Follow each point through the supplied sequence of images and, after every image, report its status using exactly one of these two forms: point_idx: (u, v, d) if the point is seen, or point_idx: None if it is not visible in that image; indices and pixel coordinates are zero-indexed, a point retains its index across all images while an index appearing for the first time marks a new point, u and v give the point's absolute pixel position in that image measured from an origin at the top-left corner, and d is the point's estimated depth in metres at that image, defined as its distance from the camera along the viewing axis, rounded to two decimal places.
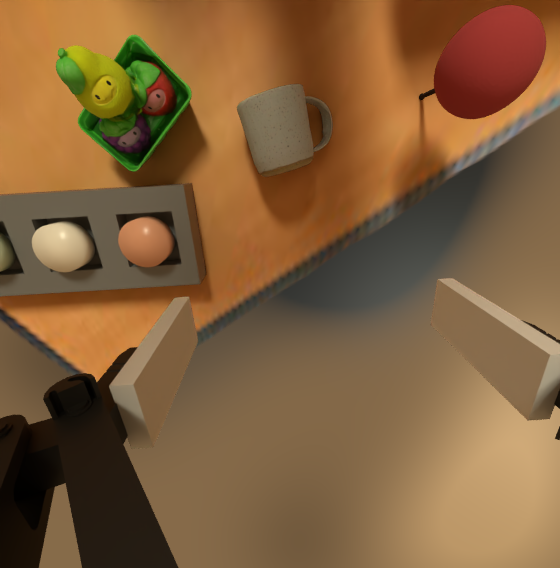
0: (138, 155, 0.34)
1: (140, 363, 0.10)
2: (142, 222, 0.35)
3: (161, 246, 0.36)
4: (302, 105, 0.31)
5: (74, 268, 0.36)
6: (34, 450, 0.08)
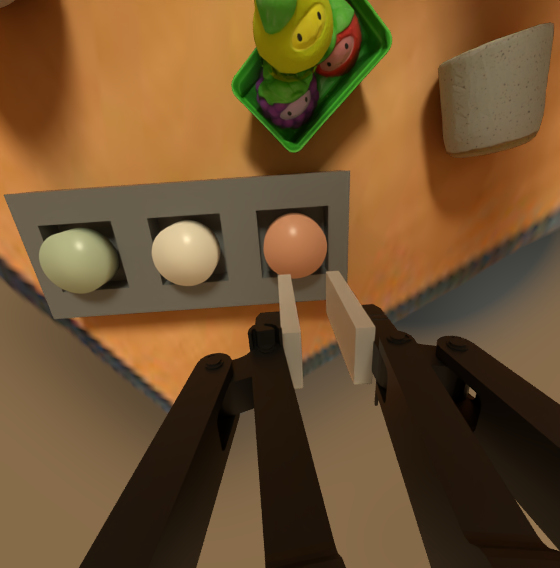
0: (295, 132, 0.26)
1: (292, 319, 0.12)
2: (300, 220, 0.26)
3: (317, 251, 0.27)
4: (550, 55, 0.22)
5: (201, 281, 0.28)
6: (242, 378, 0.10)
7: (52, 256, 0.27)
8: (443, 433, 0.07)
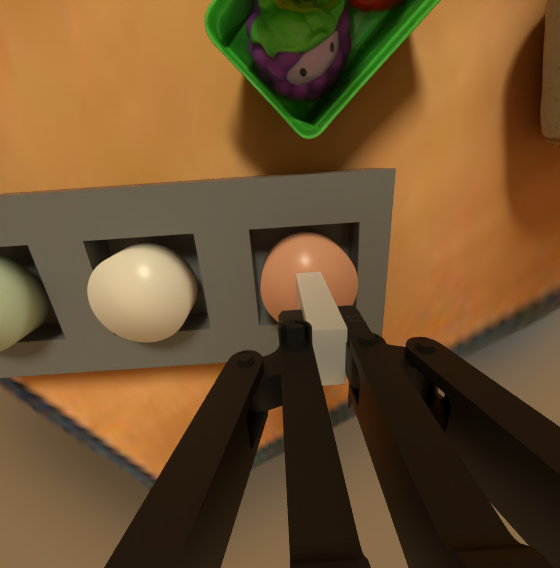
0: (311, 107, 0.16)
1: (318, 316, 0.12)
2: (317, 246, 0.17)
3: (343, 292, 0.18)
4: None
5: (166, 335, 0.19)
6: (273, 374, 0.10)
7: None
8: (416, 434, 0.07)
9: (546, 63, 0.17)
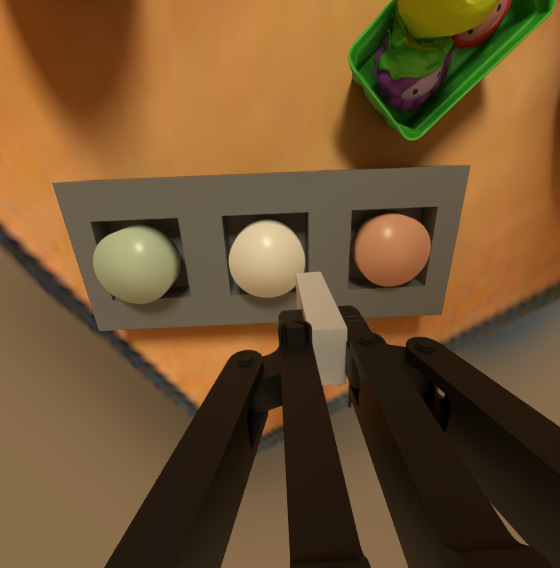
0: (410, 116, 0.21)
1: (318, 316, 0.12)
2: (404, 220, 0.23)
3: (418, 256, 0.24)
4: None
5: (283, 292, 0.24)
6: (273, 374, 0.10)
7: (108, 259, 0.22)
8: (415, 434, 0.07)
9: None
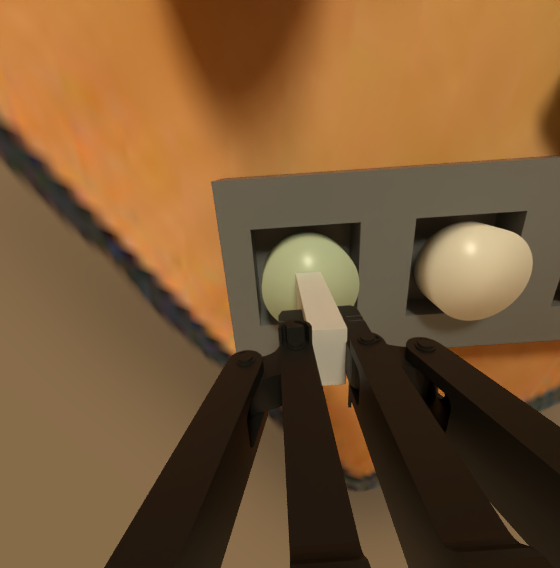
0: None
1: (318, 317, 0.12)
2: None
3: None
4: None
5: (492, 313, 0.19)
6: (273, 374, 0.10)
7: (282, 277, 0.17)
8: (416, 434, 0.07)
9: None
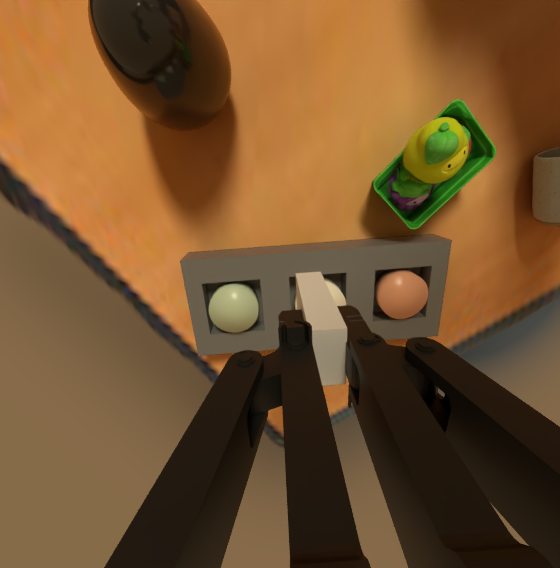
0: (411, 212, 0.33)
1: (318, 316, 0.12)
2: (410, 276, 0.35)
3: (420, 298, 0.36)
4: None
5: None
6: (273, 374, 0.10)
7: (218, 305, 0.35)
8: (416, 434, 0.07)
9: (534, 185, 0.34)
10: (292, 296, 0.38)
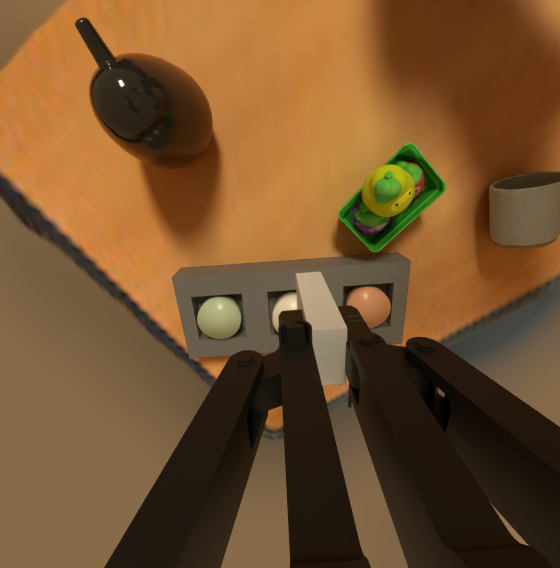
0: (374, 236, 0.38)
1: (318, 317, 0.12)
2: (374, 292, 0.39)
3: (384, 311, 0.40)
4: None
5: None
6: (273, 374, 0.10)
7: (206, 315, 0.40)
8: (415, 434, 0.07)
9: (489, 211, 0.38)
10: (272, 307, 0.43)
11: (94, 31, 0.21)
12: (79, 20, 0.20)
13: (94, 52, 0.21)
